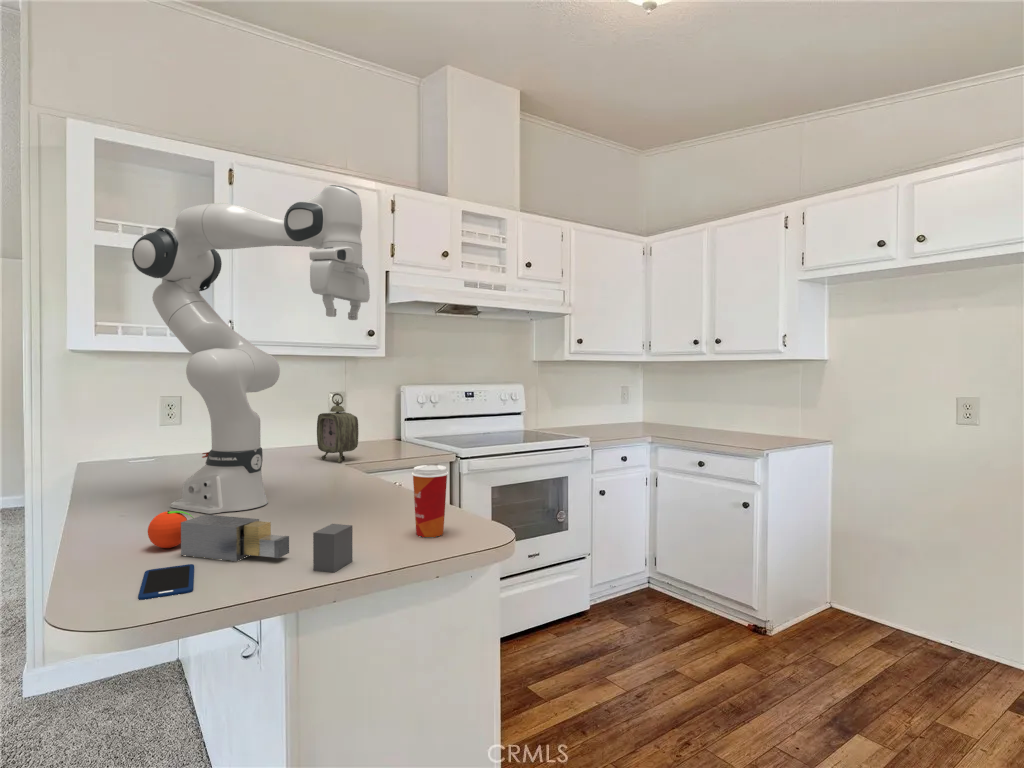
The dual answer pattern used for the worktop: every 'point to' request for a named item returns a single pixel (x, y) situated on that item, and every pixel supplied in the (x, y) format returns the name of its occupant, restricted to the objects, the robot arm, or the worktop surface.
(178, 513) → the clementine
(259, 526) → the gold-banded square post
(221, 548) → the sleeve
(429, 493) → the paper cup
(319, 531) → the socket
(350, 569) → the worktop surface
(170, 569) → the cell phone
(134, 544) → the worktop surface
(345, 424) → the tabletop clock
